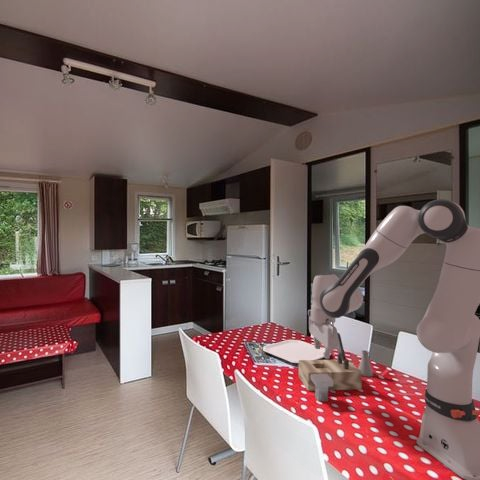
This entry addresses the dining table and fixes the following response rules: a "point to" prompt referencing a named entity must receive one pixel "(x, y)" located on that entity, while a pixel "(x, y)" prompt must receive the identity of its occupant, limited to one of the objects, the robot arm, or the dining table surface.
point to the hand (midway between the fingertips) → (321, 353)
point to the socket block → (331, 373)
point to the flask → (365, 364)
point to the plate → (294, 351)
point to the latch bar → (340, 348)
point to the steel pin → (321, 385)
